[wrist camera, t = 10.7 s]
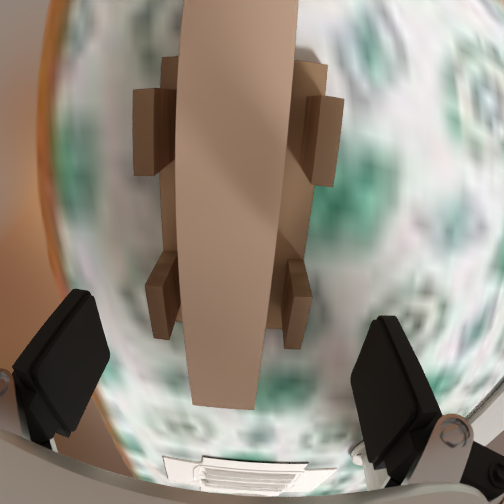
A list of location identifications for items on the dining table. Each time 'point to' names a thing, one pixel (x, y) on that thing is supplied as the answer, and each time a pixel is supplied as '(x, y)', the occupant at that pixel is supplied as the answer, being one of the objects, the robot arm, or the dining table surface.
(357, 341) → the dining table surface
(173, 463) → the tray
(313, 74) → the rack
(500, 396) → the decorative molding
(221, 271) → the clay strip
